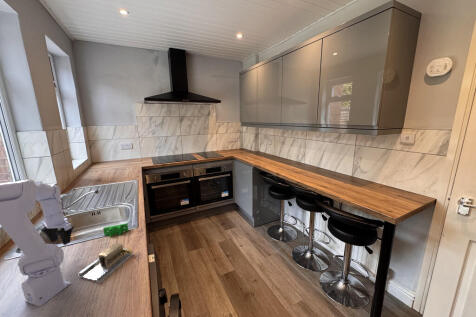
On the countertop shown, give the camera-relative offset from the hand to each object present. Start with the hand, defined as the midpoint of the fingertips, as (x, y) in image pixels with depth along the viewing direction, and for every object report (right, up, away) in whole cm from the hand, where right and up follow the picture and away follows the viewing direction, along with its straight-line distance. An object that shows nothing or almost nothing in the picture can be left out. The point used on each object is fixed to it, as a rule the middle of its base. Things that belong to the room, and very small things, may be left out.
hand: (60, 242), depth 82 cm
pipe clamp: (+10, -5, +21) cm, 24 cm away
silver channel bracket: (+21, -9, -1) cm, 23 cm away
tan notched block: (+22, -8, +1) cm, 23 cm away
